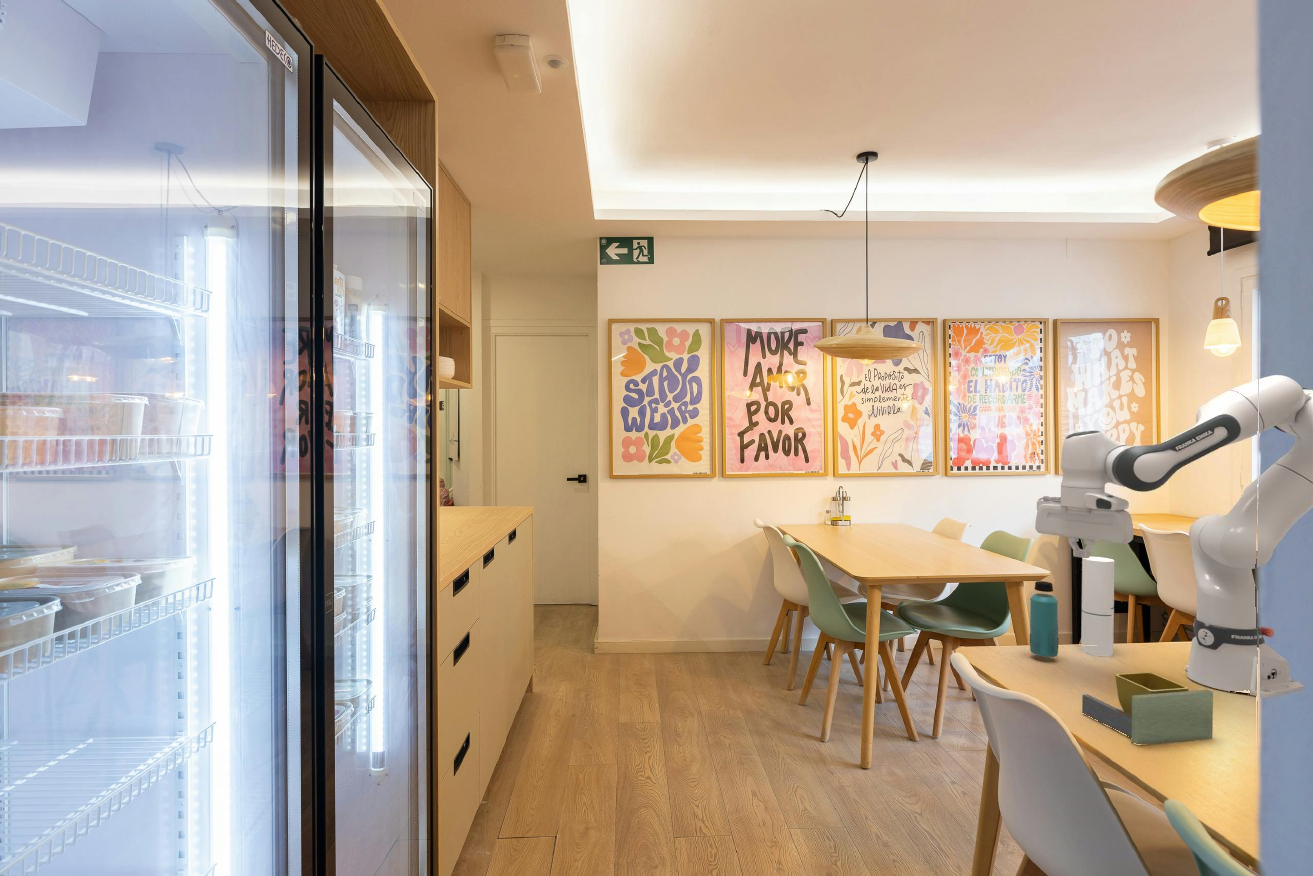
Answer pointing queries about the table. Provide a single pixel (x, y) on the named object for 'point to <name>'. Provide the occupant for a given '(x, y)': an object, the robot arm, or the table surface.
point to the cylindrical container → (1097, 606)
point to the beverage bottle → (1044, 621)
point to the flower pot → (1143, 687)
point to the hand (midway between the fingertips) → (1081, 557)
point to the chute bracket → (1158, 716)
